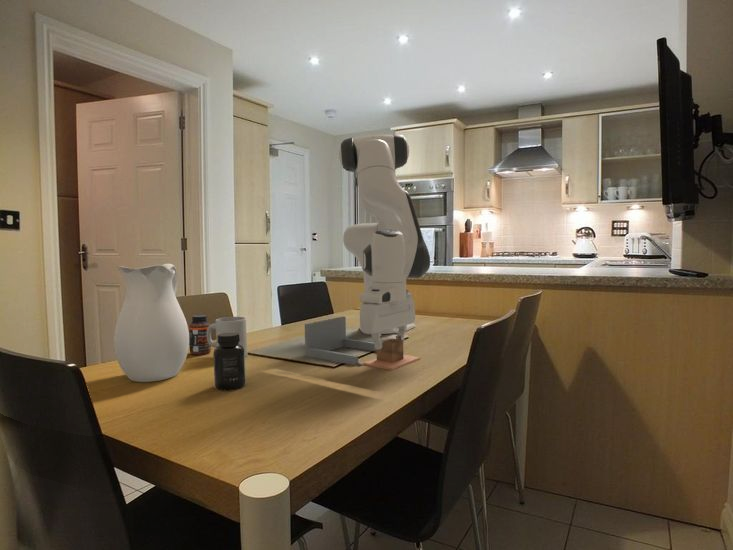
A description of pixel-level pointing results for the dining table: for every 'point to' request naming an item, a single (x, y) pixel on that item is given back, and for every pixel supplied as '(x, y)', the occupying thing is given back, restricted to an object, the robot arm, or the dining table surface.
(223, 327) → the mug
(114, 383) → the dining table surface
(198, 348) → the supplement bottle
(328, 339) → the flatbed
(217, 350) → the supplement bottle
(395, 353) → the block
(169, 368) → the pitcher
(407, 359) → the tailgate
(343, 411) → the dining table surface
